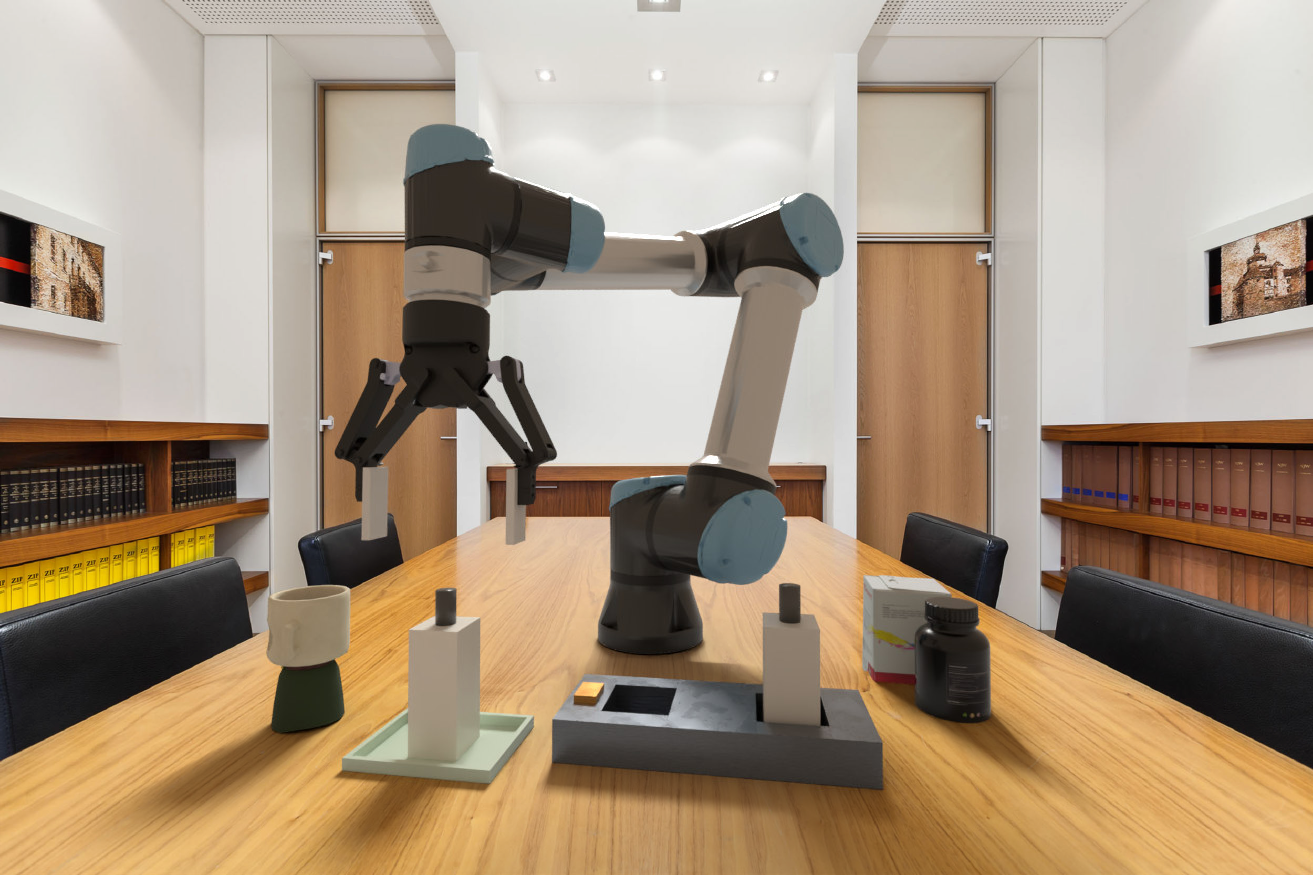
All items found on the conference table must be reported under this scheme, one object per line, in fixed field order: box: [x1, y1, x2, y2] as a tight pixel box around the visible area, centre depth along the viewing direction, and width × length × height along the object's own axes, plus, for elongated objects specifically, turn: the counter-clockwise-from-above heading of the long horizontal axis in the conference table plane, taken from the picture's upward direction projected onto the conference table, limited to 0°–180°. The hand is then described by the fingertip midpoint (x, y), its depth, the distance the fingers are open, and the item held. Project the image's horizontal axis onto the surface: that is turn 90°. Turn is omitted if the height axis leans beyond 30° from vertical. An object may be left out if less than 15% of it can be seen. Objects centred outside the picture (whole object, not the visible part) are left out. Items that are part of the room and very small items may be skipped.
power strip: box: [551, 673, 884, 791], centre depth 52 cm, size 10×26×6 cm, turn 81°
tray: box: [341, 707, 535, 785], centre depth 54 cm, size 10×13×2 cm
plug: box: [407, 587, 481, 761], centre depth 54 cm, size 4×4×14 cm
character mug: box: [266, 584, 351, 734], centre depth 59 cm, size 11×7×13 cm, turn 9°
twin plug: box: [762, 582, 821, 726], centre depth 51 cm, size 4×4×14 cm
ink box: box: [861, 574, 953, 685], centre depth 70 cm, size 9×9×12 cm
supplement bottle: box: [914, 596, 992, 724], centre depth 60 cm, size 7×7×12 cm
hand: (443, 540), depth 54 cm, fingers open, 13 cm apart
